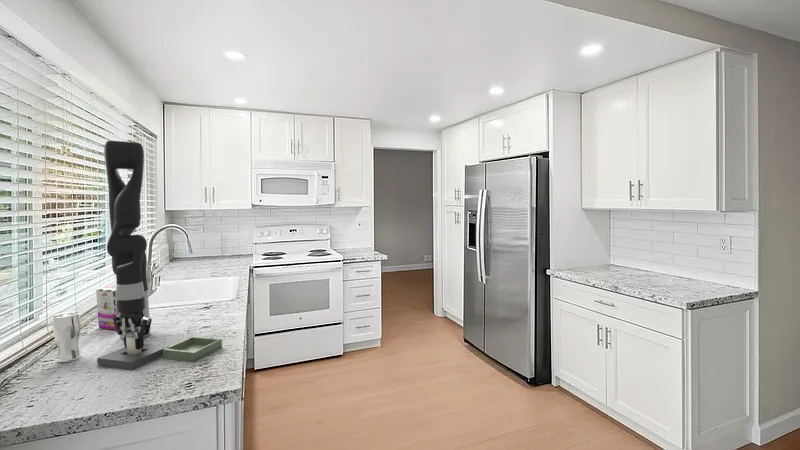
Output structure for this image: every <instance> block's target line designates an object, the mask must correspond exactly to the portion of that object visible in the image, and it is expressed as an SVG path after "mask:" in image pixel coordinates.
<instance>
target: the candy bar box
mask: <svg viewBox="0 0 800 450" xmlns="http://www.w3.org/2000/svg"><path fill="white" fill-rule="evenodd" d="M116 289H117V287H110V286H106V287H100V288H96V289H95V291H96V302H97V317H98V318H97V321H98V328H99V329H102V330H104V329H105V330H111V331H116V332H117V330H116V327H115V324H114V321H113V318H114V317H117V316H119V315H118V314H119V312H118V310H117V295H116Z"/></svg>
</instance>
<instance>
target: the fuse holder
mask: <svg viewBox="0 0 800 450" xmlns="http://www.w3.org/2000/svg"><path fill="white" fill-rule="evenodd" d="M169 346H170V345H164V344H155V343H154V344H153V343H144V346H143V348H142V352H141V353H139V354H136V355H134V356H131V355H127V348H125V346H124V347H122V348H119V349H116V350H113V351H112V352H109V353H107V354H104V355H102V356H100V357H97V359H96V360H97V366H98V367H105V368H111V369H120V370H128V371H133V370H135V369H138V368H141V367H142V366H145V365H147V364H148V363H151V362H153V361H155V360H157V359H159V358H163V349H165V348H167V347H169Z"/></svg>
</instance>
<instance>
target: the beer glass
mask: <svg viewBox="0 0 800 450" xmlns="http://www.w3.org/2000/svg"><path fill="white" fill-rule="evenodd" d="M52 331H53V332H52V333H53V338H54V340H55V344H56V346H57V347H56V348H57V353H58V354H57V358H56V359H57V363H60V362H64V363H68V362H74V361H77V360H79V359H81V357H82V355H81V352H80V346H79V345H80V336H81V319H80V313H79V311H67V312H62V313H57V314H55V315H53V316H52Z"/></svg>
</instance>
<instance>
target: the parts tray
mask: <svg viewBox="0 0 800 450" xmlns="http://www.w3.org/2000/svg"><path fill="white" fill-rule="evenodd" d="M222 341H223V340H222V338H213V337H211V338H210V337H201V336H200V337H199V336H190V337H187V338H186V339H185V338H184V339H183V340H181V341H179V342H176V343H174V344H172V345H168V346H169V347H167V348H165V349H163V356H162V358H163V359H167V360H172V361H184V362H189V363H190V362H192V363H195V362H198V361H199V360H201V359H203V358H205V357H207V356H209V355H211V354H212V353H214V352H217V351H218V350H220V349H222V348H223V342H222Z"/></svg>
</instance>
